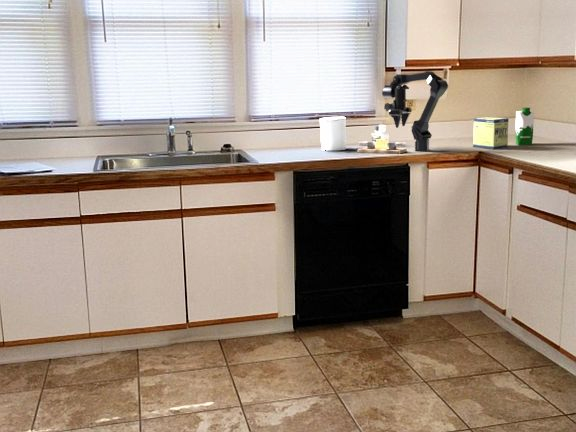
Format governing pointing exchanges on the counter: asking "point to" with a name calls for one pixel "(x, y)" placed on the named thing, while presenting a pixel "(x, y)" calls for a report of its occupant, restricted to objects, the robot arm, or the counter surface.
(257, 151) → the counter surface
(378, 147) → the block
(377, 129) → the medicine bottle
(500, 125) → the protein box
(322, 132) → the utensil holder
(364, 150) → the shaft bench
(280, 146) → the counter surface
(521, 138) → the milk carton
